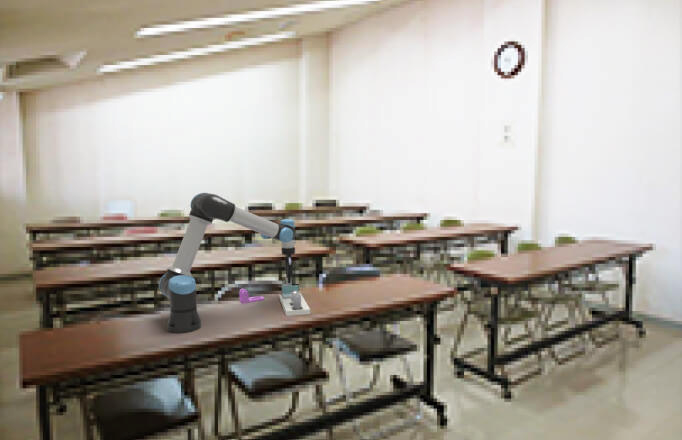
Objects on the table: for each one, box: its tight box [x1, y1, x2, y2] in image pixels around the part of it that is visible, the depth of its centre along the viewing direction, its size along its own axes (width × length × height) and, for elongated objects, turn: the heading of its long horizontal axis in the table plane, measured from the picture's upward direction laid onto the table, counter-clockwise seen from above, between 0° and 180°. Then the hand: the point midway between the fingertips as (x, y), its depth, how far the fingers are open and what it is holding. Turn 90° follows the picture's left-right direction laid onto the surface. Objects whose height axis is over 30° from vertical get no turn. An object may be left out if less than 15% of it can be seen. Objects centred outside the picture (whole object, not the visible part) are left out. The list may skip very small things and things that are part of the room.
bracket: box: [238, 288, 265, 305], centre depth 259 cm, size 13×6×7 cm, turn 116°
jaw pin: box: [291, 291, 300, 306], centre depth 245 cm, size 4×4×9 cm
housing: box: [278, 292, 311, 317], centre depth 249 cm, size 12×30×9 cm, turn 14°
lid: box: [281, 284, 300, 299], centre depth 258 cm, size 9×7×5 cm
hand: (289, 288), depth 265 cm, fingers closed
